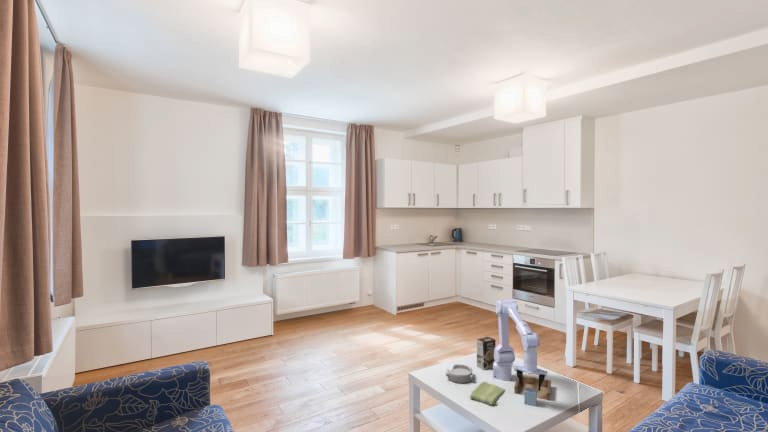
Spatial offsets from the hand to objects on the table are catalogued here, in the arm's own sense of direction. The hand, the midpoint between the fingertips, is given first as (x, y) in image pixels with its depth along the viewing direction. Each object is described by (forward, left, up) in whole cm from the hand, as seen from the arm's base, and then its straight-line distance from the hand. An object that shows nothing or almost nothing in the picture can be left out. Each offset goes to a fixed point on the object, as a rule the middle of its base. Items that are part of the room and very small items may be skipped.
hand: (530, 388), depth 176 cm
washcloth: (-20, +1, -9) cm, 22 cm away
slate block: (0, 0, -8) cm, 8 cm away
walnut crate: (0, +13, -8) cm, 15 cm away
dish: (-37, +13, -8) cm, 40 cm away
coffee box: (-27, +33, -8) cm, 43 cm away
